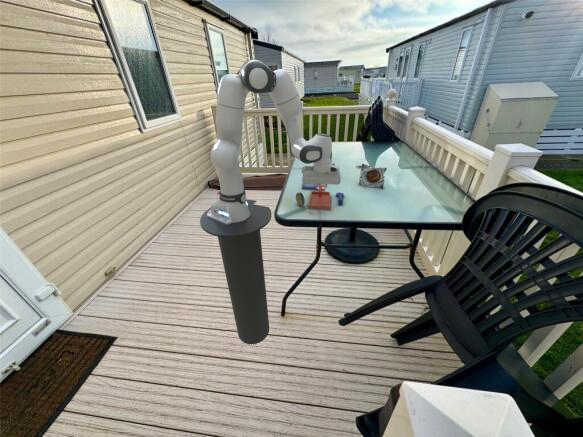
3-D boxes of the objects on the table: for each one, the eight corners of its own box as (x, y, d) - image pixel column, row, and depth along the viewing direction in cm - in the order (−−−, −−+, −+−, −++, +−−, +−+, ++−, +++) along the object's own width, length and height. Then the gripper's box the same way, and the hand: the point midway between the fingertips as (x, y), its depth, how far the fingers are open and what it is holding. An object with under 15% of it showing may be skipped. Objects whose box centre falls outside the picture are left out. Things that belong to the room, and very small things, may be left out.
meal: (383, 186, 155) (387, 166, 148) (382, 189, 151) (386, 168, 144) (359, 183, 159) (362, 163, 153) (358, 185, 156) (361, 166, 149)
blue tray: (320, 190, 151) (320, 187, 150) (302, 189, 152) (302, 186, 151) (321, 178, 166) (321, 176, 165) (304, 178, 168) (304, 175, 167)
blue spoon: (344, 205, 134) (345, 200, 132) (336, 205, 134) (336, 199, 133) (343, 195, 145) (343, 190, 143) (335, 194, 145) (336, 189, 144)
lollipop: (308, 218, 129) (294, 199, 137) (310, 217, 129) (296, 199, 138) (311, 208, 124) (296, 190, 132) (313, 207, 124) (298, 189, 133)
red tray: (329, 209, 130) (330, 206, 129) (308, 208, 131) (308, 205, 130) (329, 194, 145) (330, 191, 144) (311, 194, 147) (311, 191, 146)
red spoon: (324, 197, 129) (324, 192, 128) (316, 197, 130) (316, 191, 128) (324, 187, 140) (325, 182, 139) (317, 187, 141) (317, 181, 139)
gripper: (301, 167, 124) (301, 192, 131) (342, 169, 121) (339, 194, 129) (302, 163, 129) (302, 187, 136) (341, 164, 127) (339, 189, 134)
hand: (320, 190), depth 133 cm, fingers closed on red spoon, 2 cm apart
